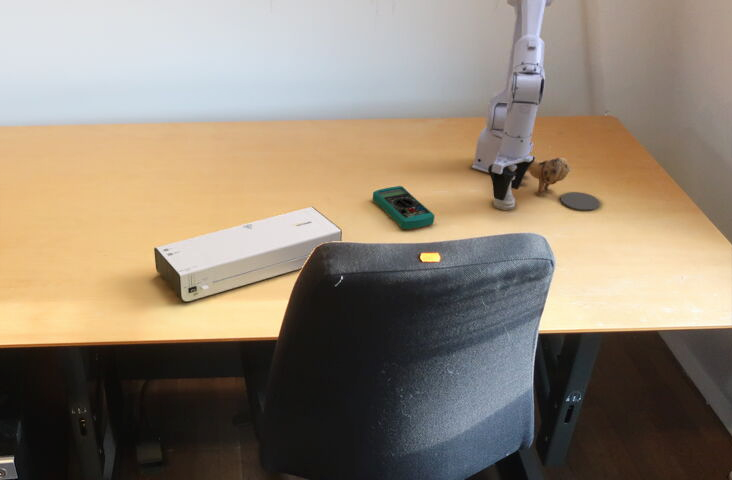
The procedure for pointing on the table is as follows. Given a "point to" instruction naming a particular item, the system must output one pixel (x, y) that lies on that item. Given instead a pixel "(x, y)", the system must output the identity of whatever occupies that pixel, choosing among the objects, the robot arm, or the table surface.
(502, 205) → the chess piece
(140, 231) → the table surface
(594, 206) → the coaster
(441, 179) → the table surface
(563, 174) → the lion figurine
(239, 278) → the laminator
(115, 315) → the table surface
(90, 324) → the table surface
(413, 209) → the digital multimeter
